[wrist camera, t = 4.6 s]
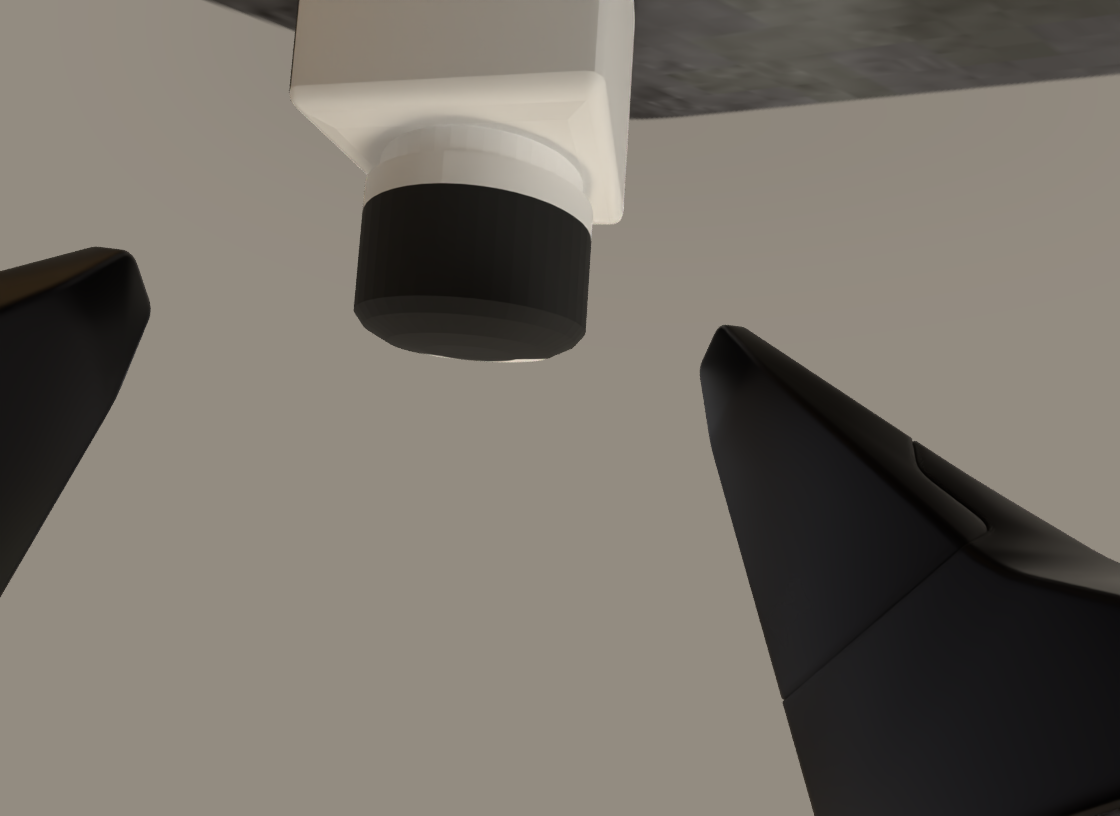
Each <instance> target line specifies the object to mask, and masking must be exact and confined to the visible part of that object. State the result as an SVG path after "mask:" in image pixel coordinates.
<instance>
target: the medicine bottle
mask: <svg viewBox="0 0 1120 816" xmlns="http://www.w3.org/2000/svg"><path fill="white" fill-rule="evenodd" d="M634 27H635V14H634V0H298V9H297V19H296V29H295V39H294V49H293V59H292V70H291V79H290V90H289V93H290V98H291V101H292V103H293V104H294V105H295V107H296V108H297V109H298V110H299V111H300V112H301V113H302V114H303V115H304V116H305V117H306V118H307V119H308V120H309V121H310V122H312V123H313V124H314V125H315V126H316V127H317V128H318V129H319V130H320V131H321V132H322V133H323V134H324V135H325V136H326V137H327V138H329V139H330V140H331V141H332V142H333V143H334V144H335V145H336V146H337V147H338V148H339V149H340V150H341V151H342V152H343V153H344V154H345V155H347V157H349V158H350V159H351V160H352V161H353V162H354V163H355V164H356V165H357V166H358V167H359V168H360V169H362V171H364V172H365V174H367V175H368V176H367V178H366V182H365V191H364V201H363V212H362V224H361V235H360V246H359V257H358V268H357V279H356V290H355V302H354V312H355V314H356V316H357V317H358V319H359V320H360V322H361V323H362V325H363V326H364V327H365V328H366V329H367V330H368V331H370V332H372V333H373V334H375V335H376V336H378V337H380V338H381V339H383V340H385V341H386V342H388V343H390V344H391V345H393V346H396V347H398V348H401V349H404V350H408V351H412V352H417V353H421V354H426V355H432V356H438V357H445V358H453V359H462V360H473V361H487V362H531V361H540V360H544V359H548V358H550V357H553V356H555V355H557V354H560V353H562V352H564V351H567V350H569V349H572V348H573V347H574V346H575V345H576V344H577V343H578V342H579V341H580V340H581V339H582V337H583V336H584V335H585V332H586V316H587V300H588V283H589V269H590V252H591V237H592V224H615V223H617V222H618V221H620V220H621V217H622V215H623V210H624V194H625V177H626V161H627V144H628V126H629V110H630V94H631V77H632V60H633V43H634Z"/></svg>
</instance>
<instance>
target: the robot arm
mask: <svg viewBox="0 0 1120 816" xmlns="http://www.w3.org/2000/svg"><path fill="white" fill-rule="evenodd" d="M150 309H151V308H150V302H149V298H148V295H147V292H146V289H145V286H144V283H143V280H142V277H141V274H140V271H139V268H138V265H137V263H136V260H135V259H134V257H133V256H132V255H131V254H130V253H129V252H127V251H125V250H119V249H112V248H103V247H91V248H87V249H83V250H79V251H75V252H72V253H68V254H64V255H60V256H57V257H52V258H49V259H45V260H41V261H37V262H33V263H30V264H26V265H22V266H19V267H15V268H11V269H7V270H3V271H0V597H1V595H2V593H3V592H4V590H5V588H6V587H7V585H8V583H9V581H10V580H11V578H12V576H13V575H14V573H15V571H16V569H17V568H18V566H19V564H20V563H21V561H22V559H23V557H24V556H25V554H26V552H27V551H28V549H29V547H30V546H31V544H32V542H33V540H34V539H35V537H36V535H37V534H38V532H39V530H40V528H41V527H42V525H43V523H44V521H45V520H46V518H47V516H48V515H49V513H50V511H51V510H52V508H53V506H54V504H55V503H56V501H57V499H58V498H59V496H60V494H61V492H62V491H63V489H64V487H65V486H66V484H67V482H68V481H69V478H70V477H71V475H72V474H73V472H74V470H75V468H76V467H77V465H78V463H79V462H80V460H81V458H82V457H83V455H84V453H85V451H86V450H87V448H88V446H89V444H90V443H91V441H92V439H93V438H94V436H95V434H96V433H97V431H98V429H99V427H100V426H101V424H102V422H103V421H104V419H105V417H106V415H107V414H108V412H109V410H110V408H111V406H112V405H113V403H114V401H115V399H116V397H117V395H118V392H119V390H120V388H121V386H122V383H123V381H124V379H125V376H126V374H127V371H128V369H129V366H130V364H131V361H132V359H133V357H134V354H135V352H136V349H137V347H138V345H139V342H140V340H141V337H142V335H143V332H144V330H145V327H146V325H147V323H148V320H149V317H150ZM700 380H701V386H702V393H703V399H704V405H705V412H706V419H707V424H708V431H709V437H710V442H711V447H712V451H713V455H714V459H715V463H716V466H717V469H718V473H719V477H720V480H721V484H722V487H723V491H724V495H725V498H726V502H727V505H728V509H729V513H730V516H731V519H732V523H733V527H734V530H735V533H736V537H737V541H738V544H739V548H740V552H741V555H742V559H743V562H744V566H745V569H746V573H747V576H748V580H749V584H750V587H751V591H752V594H753V598H754V601H755V605H756V608H757V612H758V615H759V619H760V623H761V626H762V630H763V633H764V637H765V640H766V644H767V647H768V651H769V655H770V658H771V662H772V665H773V669H774V672H775V676H776V680H777V683H778V687H779V690H780V694H781V697H782V699H784V701H783V706H784V709H785V713H786V716H787V720H788V723H789V727H790V730H791V734H792V738H793V741H794V745H795V748H796V752H797V755H798V759H799V762H800V766H801V769H802V773H803V777H804V780H805V784H806V787H807V791H808V794H809V798H810V801H811V805H812V809H813V812H814V816H1120V563H1118V562H1116V561H1114V560H1111V559H1109V558H1107V557H1105V556H1103V555H1102V554H1100V553H1098V552H1096V551H1094V550H1092V549H1091V548H1089V547H1087V546H1086V545H1084V544H1082V543H1081V542H1079V541H1077V540H1076V539H1074V538H1072V537H1070V536H1069V535H1067V534H1066V533H1064V532H1062V531H1061V530H1059V529H1057V528H1055V527H1054V526H1052V525H1050V524H1049V523H1047V522H1045V521H1044V520H1042V519H1040V518H1039V517H1037V516H1035V515H1034V514H1032V513H1030V512H1029V511H1027V510H1025V509H1023V508H1022V507H1020V506H1019V505H1017V504H1015V503H1014V502H1012V501H1010V500H1009V499H1007V498H1005V497H1003V496H1002V495H1000V494H999V493H997V492H995V491H994V490H992V489H990V488H989V487H987V486H986V485H984V484H982V483H981V482H979V481H977V480H976V479H974V478H973V477H971V476H969V475H968V474H966V473H964V472H963V471H961V470H960V469H958V468H957V467H955V466H954V465H952V464H950V463H949V462H947V461H946V460H944V459H943V458H941V457H940V456H938V455H936V454H935V453H934V452H932V451H931V450H929V449H928V448H926V447H925V446H923V445H921V444H920V443H918V442H917V441H913V442H912V438H911V437H909V436H908V435H906V434H905V433H903V432H902V431H900V430H899V429H897V428H896V427H894V426H892V425H891V424H890V423H888V422H887V421H885V420H884V419H882V418H881V417H879V416H877V415H876V414H874V413H873V412H871V411H870V410H868V409H867V408H865V407H864V406H862V405H861V404H859V403H858V402H856V401H855V400H853V399H852V398H850V397H849V396H847V395H845V394H844V393H843V392H841V391H840V390H838V389H837V388H835V387H834V386H832V385H831V384H829V383H828V382H826V381H825V380H823V379H822V378H820V377H819V376H817V375H816V374H814V373H812V372H811V371H809V370H808V369H806V368H805V367H803V366H802V365H800V364H799V363H797V362H796V361H794V360H793V359H791V358H790V357H788V356H787V355H785V354H784V353H782V352H781V351H779V350H778V349H776V348H775V347H773V346H771V345H770V344H769V343H767V342H766V341H764V340H762V339H761V338H760V337H758V336H757V335H755V334H753V333H752V332H750V331H749V330H748V329H746V328H744V327H739V326H731V325H722V326H720V327H719V328H718V329H717V331H716V333H715V334H714V336H713V338H712V341H711V343H710V345H709V347H708V349H707V352H706V354H705V356H704V358H703V360H702V363H701V367H700Z"/></svg>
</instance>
